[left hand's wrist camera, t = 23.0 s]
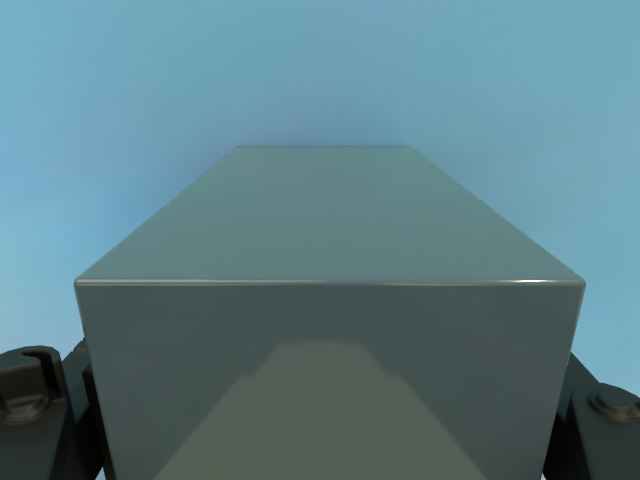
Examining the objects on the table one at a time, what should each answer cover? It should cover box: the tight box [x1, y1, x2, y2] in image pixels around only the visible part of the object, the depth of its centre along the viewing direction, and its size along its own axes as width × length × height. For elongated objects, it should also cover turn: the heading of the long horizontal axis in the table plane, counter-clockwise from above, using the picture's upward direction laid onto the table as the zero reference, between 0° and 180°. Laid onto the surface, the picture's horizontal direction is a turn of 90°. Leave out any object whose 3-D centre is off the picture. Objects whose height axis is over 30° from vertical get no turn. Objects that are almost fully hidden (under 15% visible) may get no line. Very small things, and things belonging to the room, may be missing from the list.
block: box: [74, 146, 586, 480], centre depth 12 cm, size 6×8×11 cm
